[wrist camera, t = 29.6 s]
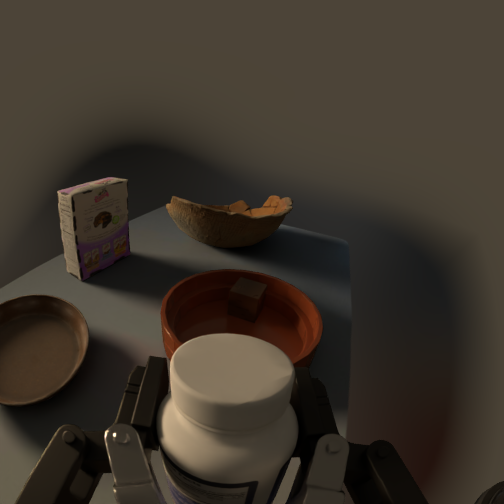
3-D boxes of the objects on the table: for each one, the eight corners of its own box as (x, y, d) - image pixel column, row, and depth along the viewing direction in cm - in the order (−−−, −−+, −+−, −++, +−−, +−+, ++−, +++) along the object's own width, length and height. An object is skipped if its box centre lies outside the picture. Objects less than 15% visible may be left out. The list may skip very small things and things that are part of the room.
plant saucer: (110, 404, 24) (103, 387, 23) (-29, 423, 13) (-43, 407, 11) (84, 302, 39) (80, 285, 38) (-17, 320, 27) (-24, 303, 26)
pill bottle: (232, 448, 14) (249, 314, 12) (291, 502, 10) (351, 374, 8) (154, 476, 11) (127, 336, 9) (206, 548, 7) (204, 453, 5)
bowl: (322, 321, 45) (332, 294, 42) (289, 424, 26) (301, 397, 24) (209, 284, 50) (211, 257, 48) (132, 354, 32) (126, 322, 30)
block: (263, 307, 45) (267, 284, 43) (254, 323, 41) (259, 299, 39) (237, 299, 46) (240, 276, 44) (227, 314, 42) (229, 290, 40)
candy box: (113, 248, 57) (111, 175, 50) (131, 255, 56) (129, 179, 49) (66, 271, 46) (55, 189, 39) (82, 282, 44) (71, 194, 37)
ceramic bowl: (216, 207, 87) (227, 162, 79) (291, 247, 78) (310, 200, 71) (141, 234, 63) (147, 175, 56) (229, 296, 54) (250, 231, 47)
